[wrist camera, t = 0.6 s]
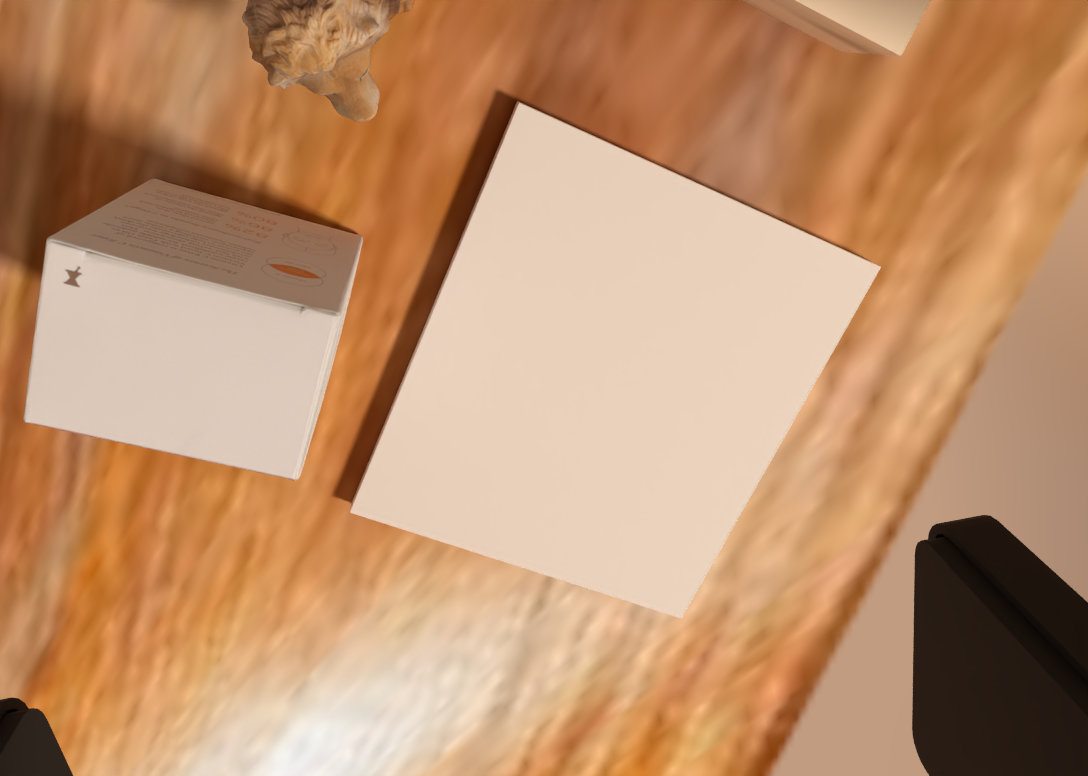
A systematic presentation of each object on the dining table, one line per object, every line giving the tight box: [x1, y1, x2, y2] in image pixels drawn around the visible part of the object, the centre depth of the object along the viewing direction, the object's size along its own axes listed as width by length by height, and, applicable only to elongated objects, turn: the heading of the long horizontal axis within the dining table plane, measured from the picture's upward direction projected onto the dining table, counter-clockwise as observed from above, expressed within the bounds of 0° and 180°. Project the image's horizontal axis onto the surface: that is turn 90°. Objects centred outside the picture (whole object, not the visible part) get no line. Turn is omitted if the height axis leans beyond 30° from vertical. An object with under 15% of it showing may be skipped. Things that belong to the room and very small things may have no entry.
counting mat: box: [350, 101, 881, 618], centre depth 38 cm, size 18×16×1 cm
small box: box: [24, 179, 363, 481], centre depth 30 cm, size 8×6×10 cm
